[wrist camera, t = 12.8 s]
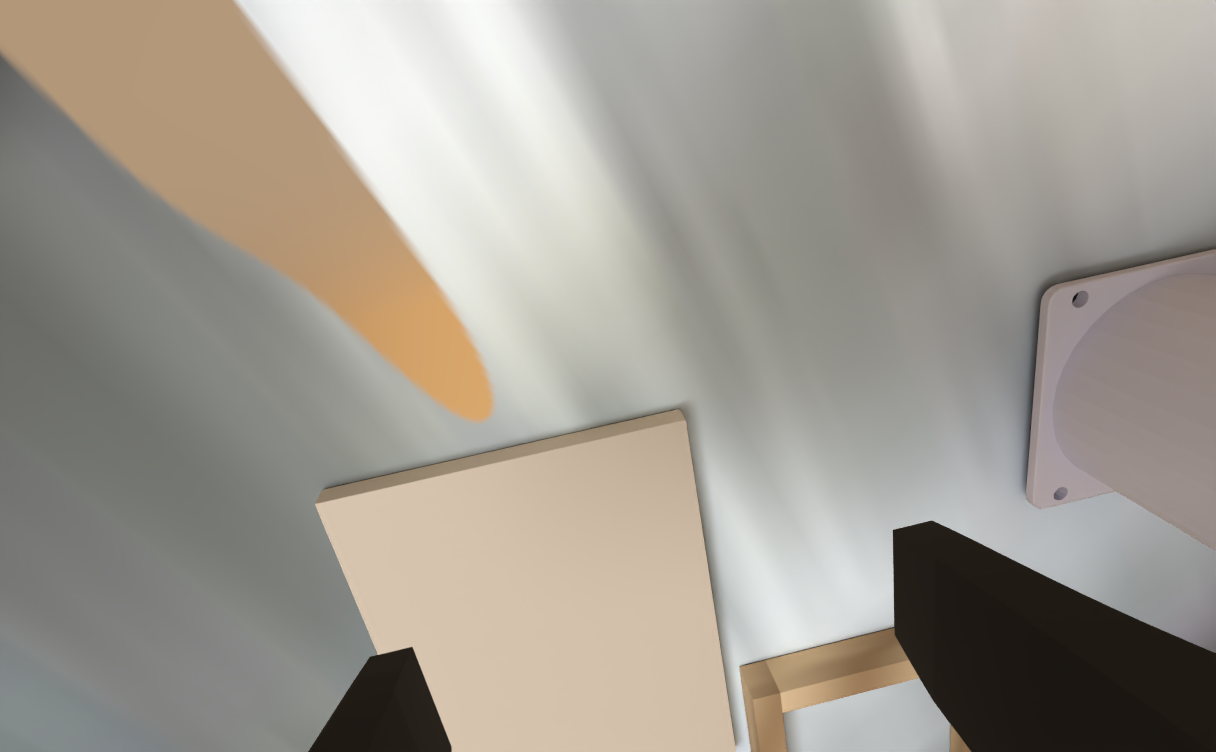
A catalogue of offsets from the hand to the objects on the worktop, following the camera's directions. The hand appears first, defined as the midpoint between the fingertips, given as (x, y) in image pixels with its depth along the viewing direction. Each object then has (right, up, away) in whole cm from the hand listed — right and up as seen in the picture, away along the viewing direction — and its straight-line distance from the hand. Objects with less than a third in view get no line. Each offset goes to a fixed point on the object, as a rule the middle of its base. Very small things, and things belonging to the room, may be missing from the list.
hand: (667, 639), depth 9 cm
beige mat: (-3, -5, +13) cm, 14 cm away
